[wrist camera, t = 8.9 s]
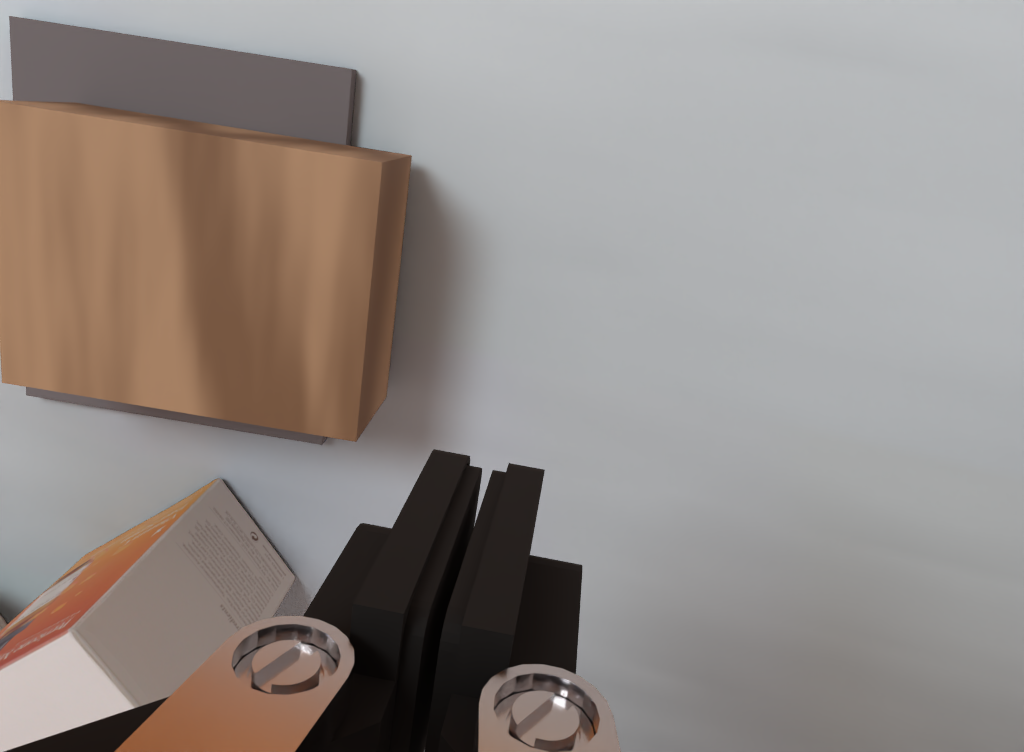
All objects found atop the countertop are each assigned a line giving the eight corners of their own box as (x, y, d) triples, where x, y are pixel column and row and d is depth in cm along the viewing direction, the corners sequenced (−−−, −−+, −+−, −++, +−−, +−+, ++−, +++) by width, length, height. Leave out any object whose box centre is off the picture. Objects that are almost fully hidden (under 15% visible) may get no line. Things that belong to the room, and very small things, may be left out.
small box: (223, 472, 33) (72, 625, 23) (300, 577, 34) (188, 765, 24) (79, 554, 35) (-120, 729, 25) (158, 651, 36) (-1, 855, 26)
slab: (382, 162, 24) (-14, 99, 24) (356, 441, 27) (2, 382, 27) (412, 155, 28) (77, 102, 28) (387, 395, 31) (83, 345, 31)
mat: (356, 70, 28) (351, 69, 27) (326, 438, 32) (322, 444, 32) (20, 18, 28) (9, 16, 28) (36, 390, 33) (26, 395, 32)
